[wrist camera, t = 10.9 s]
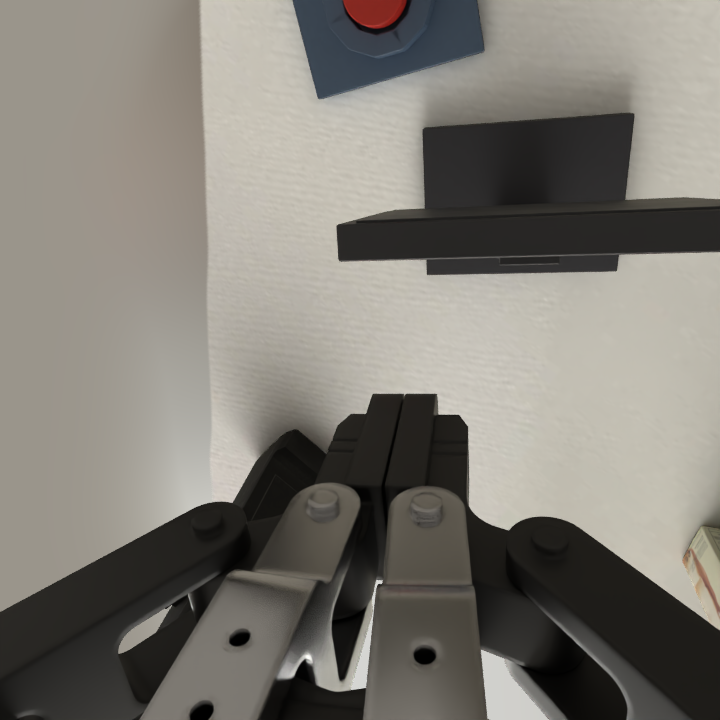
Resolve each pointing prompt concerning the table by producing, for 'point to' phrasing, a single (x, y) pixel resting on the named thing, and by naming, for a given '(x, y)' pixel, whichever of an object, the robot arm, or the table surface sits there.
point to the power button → (375, 11)
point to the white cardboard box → (706, 570)
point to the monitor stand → (527, 175)
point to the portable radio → (270, 488)
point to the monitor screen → (535, 231)
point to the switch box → (384, 41)
